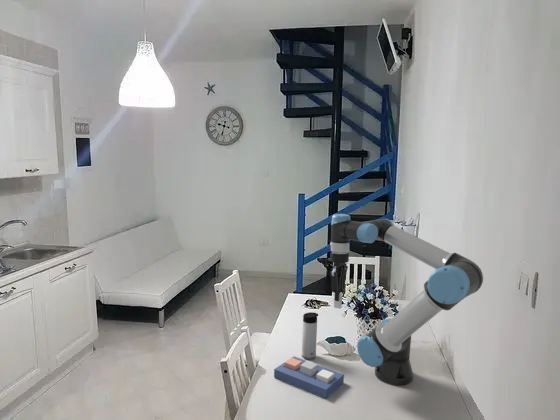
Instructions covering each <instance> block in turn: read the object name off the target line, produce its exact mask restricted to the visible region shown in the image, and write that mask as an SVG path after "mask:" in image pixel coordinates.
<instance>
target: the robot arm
mask: <svg viewBox="0 0 560 420" xmlns="http://www.w3.org/2000/svg"><path fill="white" fill-rule="evenodd" d="M330 228H331V229H330V231H331V232H330V235H331V236H330V237H331V239H330V243H329V244H330V255H329V260H330V261H331V262H332V263H333V265H332V270H330V271H329V275H330V281H331V283H330V284H331V292H332V293H334V294H333V295H334V297H333V298H334V299H333V307H334V309H340V310H341V309H342V304H343V293H345V288H346V281H347V272H348V265H346V263H348V262H349V261H350V253H349V252H350V241H354V242H359V243H360V242H361V243H364V244H366V243H367V244H373V243H374V242H375V241H376V240H377V239H379V240H380V241H382V242H384V243H386V244H388V245H390V246H392V247H394V248H396V249H398V250H399V251H401V252H403V253H405V254H407V255H408V256H410V257H413V258H414V259H416V260H418V261H420V262H422V263H424V264H426V265H428V266H430V267H432V268H433V269H435V270H433V272H431V274H430V275H429V277H428V279H427V280H426V281H425V283H423V290H422V291H421V292H420V293H419V294H418V295H417V296H416V297H414V298H413V299H412V300H411V301H410V302H409V303H408V304H406V305H405V306H404V307H403V308H402V309H401V310H400V311H399V312H398V313H396V314H395V315H394V316H393V317H392V318H385V319H383V320H382V323H380V324H378V325H377V326H376V327H374V328H373V329H372V330H371V331H370V332H369V333H367V334H365V335H362V336H361V337H360V338H359V339H358V341H357V343H356V349H357V353H358V356H359V358H360V360H361V361H362V362H363V363H364V364H365V365H367V366H369V367H372V368H374V375H375V376H376V378H377V379H378V380H380V381H381V382H384V383H386V384H389V385H394V386H395V385H396V386H403V385H409V384H410V383H412V381H413V378H414V372H413V368H412V364H411V362H410V360H411V359H410V356H411V342H412V335H413V334H415V332H417V331H418V330H419V329H421V328H422V327H423V326H424V325H425V324H427V323H428V322H430V320H432V319H433V318H434V317H435V316H436V315H438V314H439V313H440V312H441V311H442V310H443V311H450V310H452V309H453V308H454V307H455V306H456V305H458V304H459V303H460V302H462V301H463V300H464V299H465V298H467V297H469V296H471V295H473V294H474V293H476V292H478V291H479V290H480V289H481V287H482V285H483V283H484V275H483V274H484V273H483V271H482V269H481V267H479V265H478V264H477V263H475V262H474V261H473V260H471V259H469V258H467V257H465V256H463V255H461V254H460V253H459V254H458V253H457V252H452V253H451V252H449V251H446V250H444V249H443V248H441V247H438V246H436V245H434V244H432V243H430V242H428V241H426V240H424V239H422V238H419V237H418V236H416V235H414V234H412V233H410V232H407V231H405V230H403V229H401V228H400V227H397V226H395V225H394V224H393V222H392V221H391V220H390V219H389V218H377V219H372V220H366V221H354V220H351V216H350V214H346V213H335V214H333V215H332V216H331V223H330Z"/></svg>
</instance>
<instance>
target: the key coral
mask: <svg viewBox="0 0 560 420" xmlns="http://www.w3.org/2000/svg"><path fill="white" fill-rule="evenodd" d="M284 362H285V367H286V368H288V369H291V370H294V371H296V370H298V369H299V368H300V365H301V364H302V361H299V360H297V359H294V358H292V357H291V358H289V359H288V360H286V361H284Z"/></svg>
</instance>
